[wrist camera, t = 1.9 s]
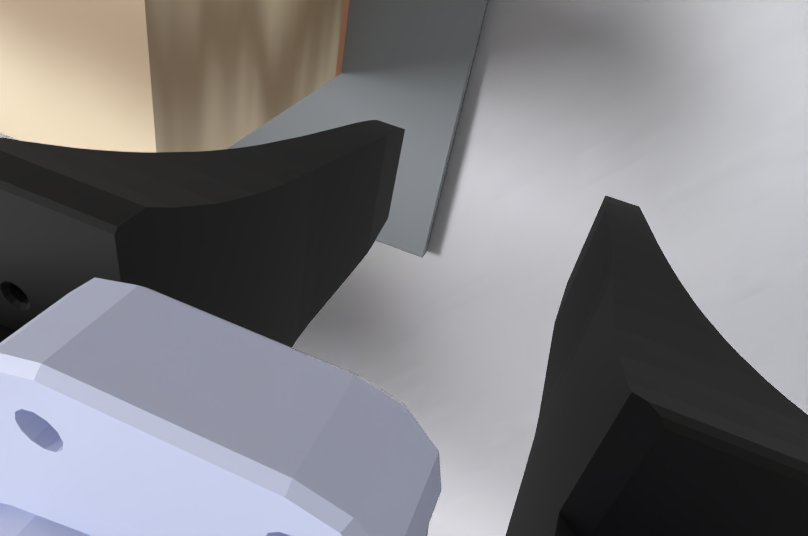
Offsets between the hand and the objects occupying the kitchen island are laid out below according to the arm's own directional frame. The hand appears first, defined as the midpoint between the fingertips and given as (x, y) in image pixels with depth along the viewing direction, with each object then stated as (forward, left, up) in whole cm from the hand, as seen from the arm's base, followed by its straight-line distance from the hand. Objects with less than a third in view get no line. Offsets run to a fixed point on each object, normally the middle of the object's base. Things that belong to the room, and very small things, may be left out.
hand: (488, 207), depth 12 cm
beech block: (0, +10, -10) cm, 14 cm away
